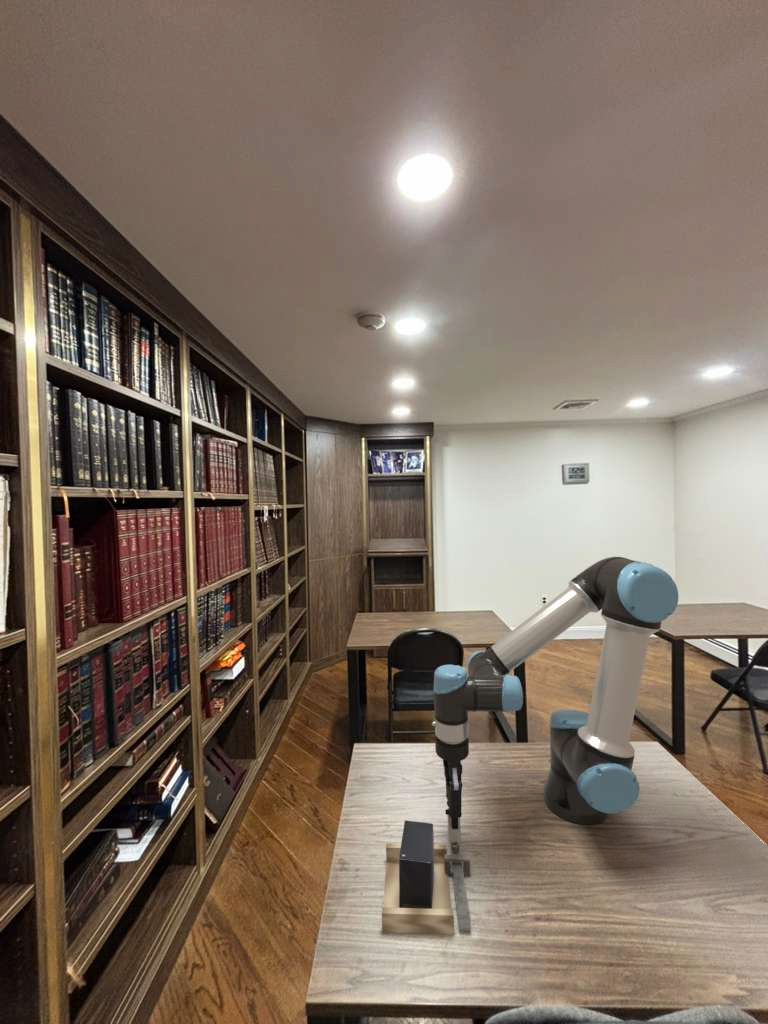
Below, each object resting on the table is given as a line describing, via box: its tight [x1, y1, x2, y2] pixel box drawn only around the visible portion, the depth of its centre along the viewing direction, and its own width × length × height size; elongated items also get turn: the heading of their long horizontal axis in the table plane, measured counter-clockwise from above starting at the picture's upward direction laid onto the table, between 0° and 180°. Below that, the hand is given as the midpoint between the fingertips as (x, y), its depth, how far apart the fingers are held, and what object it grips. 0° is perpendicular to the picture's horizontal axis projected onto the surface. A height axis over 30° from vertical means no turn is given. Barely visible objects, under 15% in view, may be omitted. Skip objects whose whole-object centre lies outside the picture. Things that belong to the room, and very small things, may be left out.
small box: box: [399, 820, 435, 909], centre depth 88 cm, size 11×6×10 cm, turn 171°
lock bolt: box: [449, 841, 472, 933], centre depth 88 cm, size 2×18×3 cm, turn 177°
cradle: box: [381, 843, 471, 935], centre depth 88 cm, size 18×16×4 cm
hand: (454, 838), depth 100 cm, fingers closed
